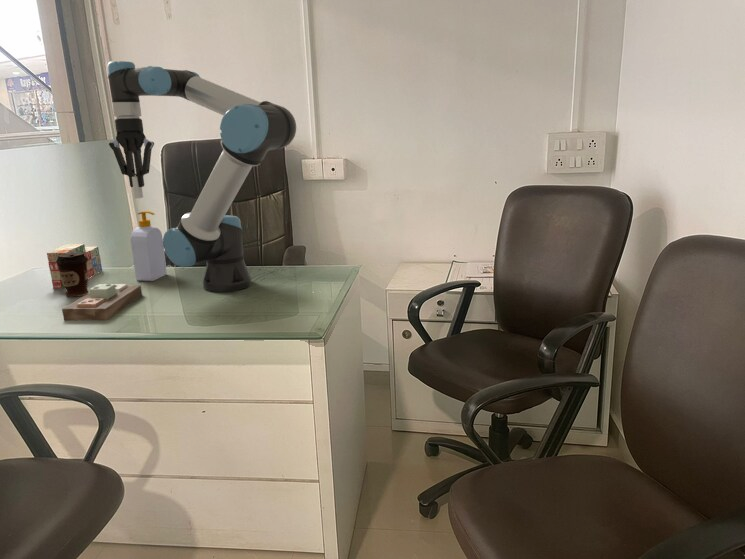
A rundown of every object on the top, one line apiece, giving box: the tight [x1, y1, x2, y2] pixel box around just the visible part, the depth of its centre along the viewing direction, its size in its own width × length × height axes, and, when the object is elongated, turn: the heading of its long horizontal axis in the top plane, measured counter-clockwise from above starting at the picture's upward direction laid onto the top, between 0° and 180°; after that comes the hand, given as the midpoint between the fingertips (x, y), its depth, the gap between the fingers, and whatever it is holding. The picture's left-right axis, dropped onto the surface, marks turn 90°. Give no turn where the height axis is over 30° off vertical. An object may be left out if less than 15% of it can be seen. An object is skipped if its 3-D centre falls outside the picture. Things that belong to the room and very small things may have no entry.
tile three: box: [77, 298, 105, 307], centre depth 155 cm, size 5×5×3 cm
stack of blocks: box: [46, 243, 103, 289], centre depth 190 cm, size 21×6×12 cm, turn 0°
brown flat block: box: [61, 284, 143, 321], centre depth 162 cm, size 12×22×3 cm, turn 178°
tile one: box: [114, 283, 128, 292], centre depth 168 cm, size 5×5×3 cm
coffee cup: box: [56, 252, 90, 298], centre depth 172 cm, size 9×8×13 cm
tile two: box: [88, 283, 116, 299], centre depth 161 cm, size 5×5×3 cm
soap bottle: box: [130, 210, 168, 282], centre depth 189 cm, size 9×7×23 cm
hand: (138, 197), depth 171 cm, fingers closed
